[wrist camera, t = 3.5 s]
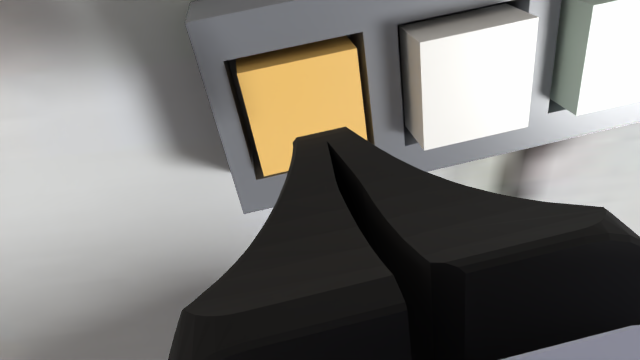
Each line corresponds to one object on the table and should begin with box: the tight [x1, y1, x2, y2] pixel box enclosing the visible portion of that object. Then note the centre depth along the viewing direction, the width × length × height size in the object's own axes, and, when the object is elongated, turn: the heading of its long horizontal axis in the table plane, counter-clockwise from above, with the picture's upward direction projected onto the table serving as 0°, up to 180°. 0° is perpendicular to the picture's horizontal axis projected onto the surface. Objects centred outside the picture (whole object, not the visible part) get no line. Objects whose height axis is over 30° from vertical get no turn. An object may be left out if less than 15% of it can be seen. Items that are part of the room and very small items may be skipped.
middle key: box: [399, 3, 539, 151], centre depth 15 cm, size 3×3×2 cm
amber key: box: [236, 35, 367, 176], centre depth 15 cm, size 3×3×2 cm
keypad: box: [185, 0, 640, 214], centre depth 16 cm, size 15×6×3 cm, turn 99°
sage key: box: [550, 0, 640, 116], centre depth 15 cm, size 3×3×2 cm
